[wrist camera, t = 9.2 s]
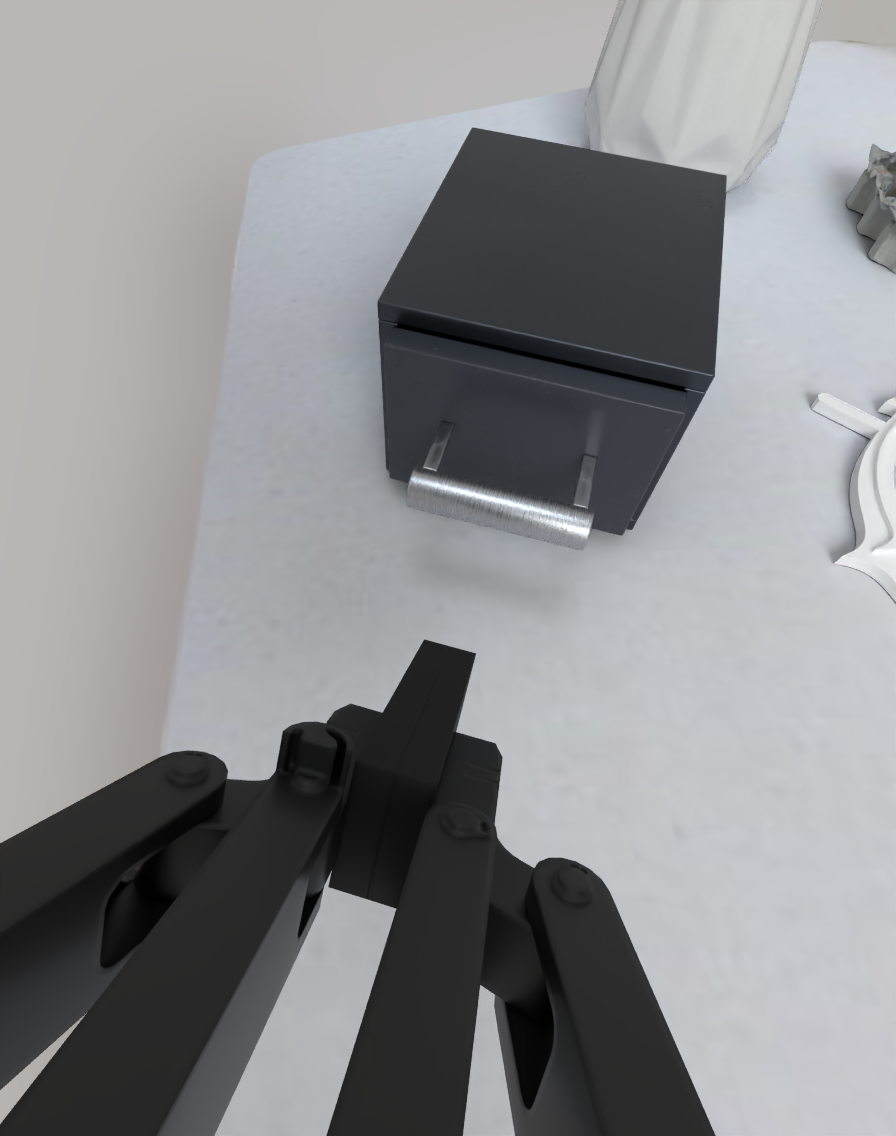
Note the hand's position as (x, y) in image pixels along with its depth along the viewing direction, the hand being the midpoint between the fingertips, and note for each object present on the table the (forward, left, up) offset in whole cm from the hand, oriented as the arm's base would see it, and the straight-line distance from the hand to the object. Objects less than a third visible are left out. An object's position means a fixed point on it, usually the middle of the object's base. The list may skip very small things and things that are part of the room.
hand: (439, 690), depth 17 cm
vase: (-43, +24, -8) cm, 50 cm away
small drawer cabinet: (-19, +8, -8) cm, 22 cm away
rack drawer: (-15, +7, -7) cm, 18 cm away
